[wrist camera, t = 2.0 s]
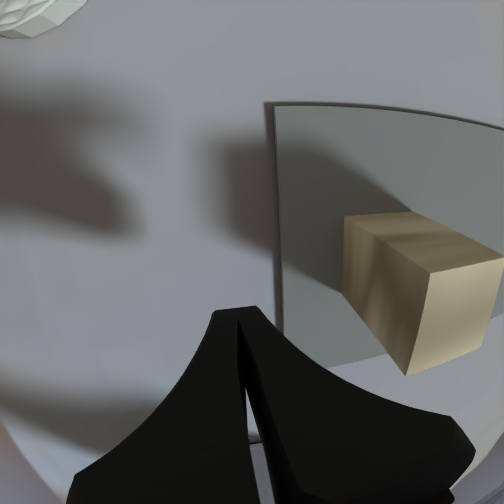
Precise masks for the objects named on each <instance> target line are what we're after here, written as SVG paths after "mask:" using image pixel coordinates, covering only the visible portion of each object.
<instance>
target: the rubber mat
mask: <svg viewBox="0 0 504 504" xmlns="http://www.w3.org/2000/svg"><path fill="white" fill-rule="evenodd" d="M273 118H274V133H275V149H276V167H277V186H278V207H279V230H280V256H281V287H282V329H283V335H284V336H285V337H286V338H287V339H288V340H289V341H290V342H291V343H293V344H294V345H295V346H296V347H297V348H298V349H299V350H301V351H302V352H303V353H305V354H306V355H307V356H308V357H310V358H311V359H312V360H314V361H315V362H316V363H318V364H319V365H321V366H322V367H323V368H329V367H334V366H339V365H343V364H347V363H352V362H356V361H360V360H364V359H368V358H372V357H376V356H380V355H383V354H387V351H386V350H385V349H384V347H383V346H382V345H381V343H380V342H379V341H378V340H377V338H376V337H375V336H374V334H373V333H372V332H371V331H370V329H369V328H368V327H367V325H366V324H365V323H364V322H363V320H362V319H361V318H360V317H359V315H358V314H357V313H356V312H355V310H354V309H353V308H352V307H351V305H350V304H349V303H348V302H347V300H346V299H345V298H344V297H343V295H342V294H341V284H342V267H343V244H344V216H354V215H367V214H380V213H394V212H409V211H413V212H416V213H418V214H420V215H422V216H425V217H427V218H429V219H431V220H433V221H436V222H438V223H440V224H442V225H444V226H446V227H448V228H451V229H453V230H455V231H457V232H459V233H461V234H463V235H465V236H467V237H469V238H471V239H473V240H475V241H477V242H479V243H481V244H483V245H485V246H487V247H489V248H490V249H492V250H494V251H496V252H498V253H500V254H502V255H503V256H504V131H502V130H498V129H494V128H490V127H486V126H482V125H477V124H473V123H468V122H463V121H458V120H452V119H447V118H441V117H435V116H429V115H422V114H415V113H407V112H399V111H389V110H379V109H367V108H353V107H332V106H274V107H273ZM503 312H504V269H503V273H502V277H501V281H500V285H499V289H498V293H497V296H496V300H495V303H494V307H493V310H492V313H491V316H490V318H493V317H495V316H497V315H500V314H502V313H503Z"/></svg>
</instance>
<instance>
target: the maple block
mask: <svg viewBox="0 0 504 504" xmlns="http://www.w3.org/2000/svg"><path fill="white" fill-rule="evenodd" d="M503 269H504V256H503V255H502V254H500V253H498V252H496V251H494V250H492V249H490V248H489V247H487V246H485V245H483V244H481V243H479V242H477V241H475V240H473V239H471V238H469V237H467V236H465V235H463V234H461V233H459V232H457V231H455V230H453V229H451V228H448V227H446V226H444V225H442V224H440V223H438V222H436V221H433V220H431V219H429V218H427V217H425V216H422V215H420V214H418V213H416V212H413V211H409V212H394V213H380V214H367V215H354V216H344V244H343V267H342V284H341V294H342V295H343V297H344V298H345V299H346V300H347V302H348V303H349V304H350V305H351V307H352V308H353V309H354V310H355V312H356V313H357V314H358V315H359V317H360V318H361V319H362V320H363V322H364V323H365V324H366V325H367V327H368V328H369V329H370V331H371V332H372V333H373V334H374V336H375V337H376V338H377V340H378V341H379V342H380V343H381V345H382V346H383V347H384V349H385V350H386V351H387V353H388V354H389V355H390V356H391V358H392V359H393V360H394V362H395V363H396V364H397V366H398V367H399V368H400V370H401V371H402V372H403V374H404V375H405V376H409V375H411V374H414V373H417V372H420V371H423V370H426V369H428V368H431V367H434V366H436V365H439V364H442V363H444V362H447V361H449V360H452V359H454V358H457V357H459V356H461V355H464V354H466V353H468V352H471V351H473V350H475V349H477V348H480V345H481V342H482V340H483V337H484V334H485V331H486V328H487V325H488V322H489V319H490V316H491V313H492V310H493V307H494V303H495V300H496V296H497V293H498V289H499V285H500V281H501V277H502V273H503Z"/></svg>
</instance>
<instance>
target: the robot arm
mask: <svg viewBox="0 0 504 504" xmlns="http://www.w3.org/2000/svg"><path fill="white" fill-rule="evenodd" d="M245 387H246V389H245ZM246 391H247V394H248V398H249V401H250V405H251V408H252V411H253V415H254V418H255V422H256V425H257V428H258V432H259V435H260V438H261V441H262V443H258V444H251V445H249V439H248V426H247V408H246ZM475 452H476V450H475V448H474V446H473V444H472V443H471V442H470V440H469V439H468V437H467V436H466V434H465V433H464V432H463V430H462V429H461V428H460V426H459V425H458V424H457V423H456V422H455V421H454V419H453V418H452V417H451V416H446V415H442V414H437V413H433V412H428V411H424V410H420V409H416V408H412V407H408V406H405V405H402V404H399V403H396V402H393V401H391V400H388V399H385V398H382V397H380V396H377V395H375V394H372V393H370V392H368V391H366V390H364V389H362V388H359V387H357V386H355V385H353V384H351V383H349V382H347V381H345V380H343V379H342V378H340V377H338V376H336V375H335V374H333V373H331V372H330V371H328V370H327V369H325V368H323V367H322V366H321V365H319V364H318V363H316V362H315V361H314V360H312V359H311V358H310V357H308V356H307V355H306V354H305V353H303V352H302V351H301V350H299V349H298V348H297V347H296V346H295V345H294V344H293V343H291V342H290V341H289V340H288V339H287V338H286V337H285V336H284V335H283V334H282V333H281V332H280V331H279V330H278V329H277V328H276V327H275V326H274V325H273V324H272V323H271V322H270V321H269V320H268V319H267V317H266V316H265V315H264V314H263V313H262V311H261V310H260V309H259V308H258V307H257V306H248V307H240V308H232V309H223V310H215V311H214V312H213V313H212V316H211V320H210V323H209V325H208V328H207V330H206V333H205V335H204V337H203V339H202V341H201V343H200V345H199V347H198V349H197V351H196V353H195V355H194V357H193V358H192V360H191V362H190V363H189V365H188V367H187V368H186V370H185V372H184V373H183V375H182V376H181V378H180V379H179V381H178V382H177V383H176V385H175V386H174V388H173V389H172V390H171V391H170V393H169V394H168V395H167V397H166V398H165V399H164V400H163V401H162V403H161V404H160V405H159V406H158V407H157V408H156V409H155V411H154V412H153V413H152V414H151V415H150V416H149V417H148V418H147V419H146V420H145V421H144V422H143V423H142V424H141V425H140V426H139V427H138V428H137V429H136V430H134V431H133V432H132V433H131V434H130V435H129V436H128V437H127V438H126V439H124V440H123V441H122V442H121V443H120V444H119V445H117V446H116V447H115V448H114V449H113V450H111V451H110V452H109V453H107V454H106V455H104V456H103V457H101V458H100V459H98V460H97V461H95V462H94V463H92V464H91V465H89V466H88V467H86V468H85V469H83V470H82V471H80V472H78V473H77V474H75V476H74V479H73V482H72V484H71V487H70V490H69V493H68V497H67V501H66V504H452V503H453V502H454V496H453V494H452V493H451V491H450V489H449V488H450V487H451V486H452V485H453V484H454V483H455V482H456V481H457V480H458V478H459V477H460V476H461V475H462V474H463V473H464V472H465V470H466V469H467V468H468V467H469V465H470V464H471V462H472V461H473V458H474V456H475ZM475 504H504V483H502V484H501V485H500V486H498V487H497V488H496V489H494V490H493V491H492V492H491V493H489V494H488V495H486V496H485V497H483V498H482V499H480V500H479V501H478V502H476V503H475Z"/></svg>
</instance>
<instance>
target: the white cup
mask: <svg viewBox="0 0 504 504" xmlns="http://www.w3.org/2000/svg"><path fill="white" fill-rule="evenodd" d="M86 2H87V0H0V35H2V36H5V37H9V38H12V39H14V38H34V37H36V36H38V35H40V34H42V33H44V32H46V31H48V30H50V29H53V28H55V27H57V26H59V25H60V24H62V23H63V22H64V21H65V20H66V19H67V18H69V17H70V16H71V15H72V14H73V13H75V12H76V11H77V10H78V9H80V8H81V7H82V6H83V5H84V4H85V3H86Z"/></svg>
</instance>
